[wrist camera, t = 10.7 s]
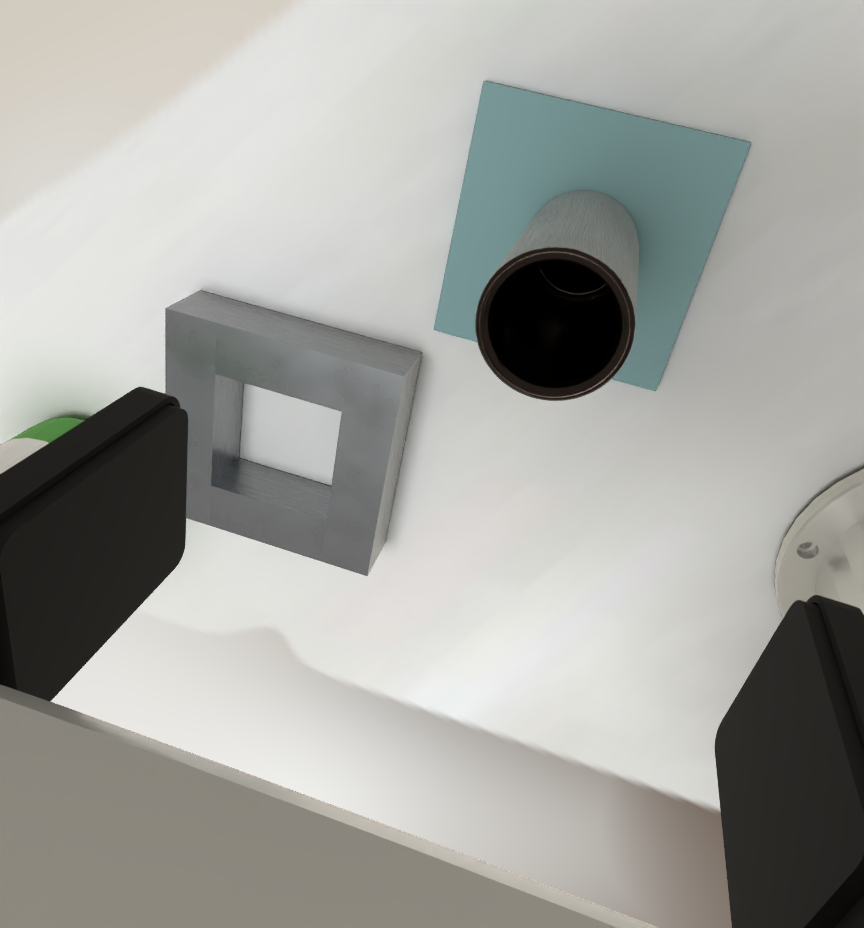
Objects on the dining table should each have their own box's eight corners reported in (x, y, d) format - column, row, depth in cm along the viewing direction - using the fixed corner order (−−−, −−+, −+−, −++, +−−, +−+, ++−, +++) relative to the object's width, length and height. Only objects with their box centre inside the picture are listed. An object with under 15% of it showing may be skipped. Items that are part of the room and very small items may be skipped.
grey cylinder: (554, 168, 28) (513, 218, 20) (661, 218, 28) (667, 290, 19) (506, 275, 31) (450, 362, 22) (604, 322, 31) (588, 427, 22)
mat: (749, 141, 27) (751, 143, 26) (655, 386, 32) (656, 391, 31) (485, 81, 28) (483, 81, 28) (436, 326, 33) (433, 329, 33)
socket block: (422, 352, 34) (404, 376, 31) (385, 542, 40) (367, 576, 37) (200, 290, 35) (165, 308, 33) (195, 483, 41) (165, 511, 38)
